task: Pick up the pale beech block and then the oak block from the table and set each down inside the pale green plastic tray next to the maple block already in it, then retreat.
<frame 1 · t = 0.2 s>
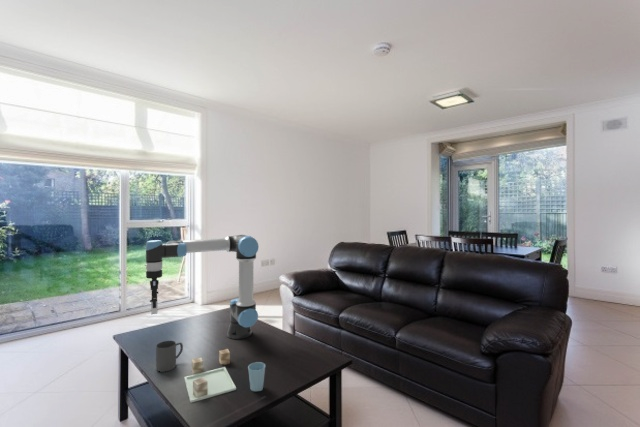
hand: (154, 310, 164), 28 cm above the table, fingers open, 13 cm apart
maple block: (200, 394, 135), point 1 cm above the table, touching tray
tray: (209, 385, 144), on the table
beech block: (197, 372, 155), on the table
oak block: (224, 362, 165), on the table
mug: (170, 366, 161), on the table
cup: (256, 389, 141), on the table
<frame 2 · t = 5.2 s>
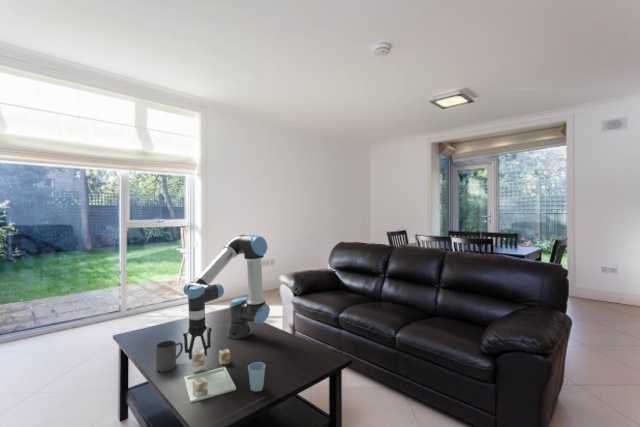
hand: (198, 363, 155), 4 cm above the table, fingers closed on beech block, 4 cm apart
beech block: (198, 364, 155), point 4 cm above the table, touching gripper
everything else where it was.
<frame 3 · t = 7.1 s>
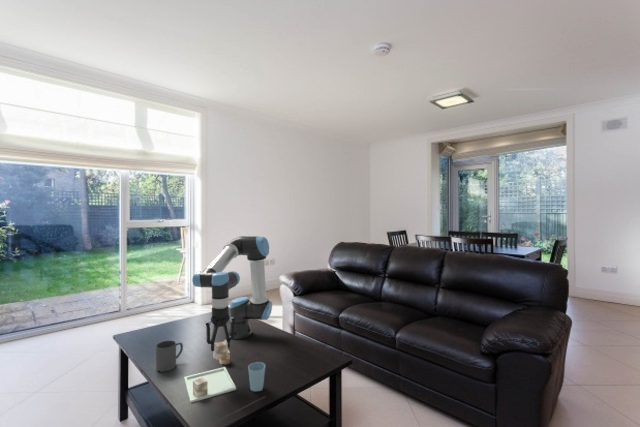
hand: (220, 356, 145), 13 cm above the table, fingers closed on beech block, 4 cm apart
beech block: (220, 356, 145), point 12 cm above the table, touching gripper
everything else where it was.
when the fingers open (2 cm above the table, at t = 9.0 s): beech block stays where it is, resting on tray.
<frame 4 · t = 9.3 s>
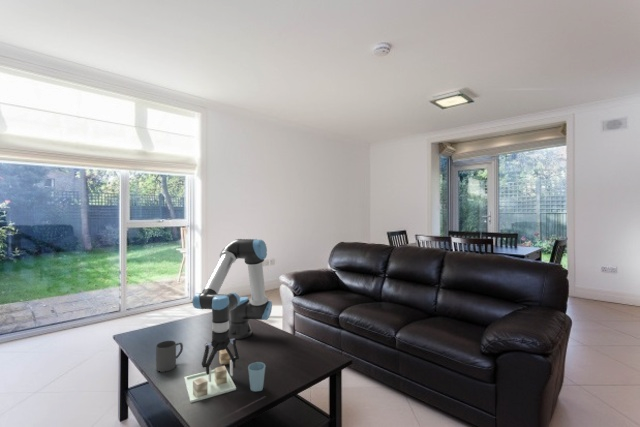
hand: (220, 377, 146), 3 cm above the table, fingers open, 9 cm apart
beech block: (220, 381, 146), point 1 cm above the table, touching tray
everything else where it was.
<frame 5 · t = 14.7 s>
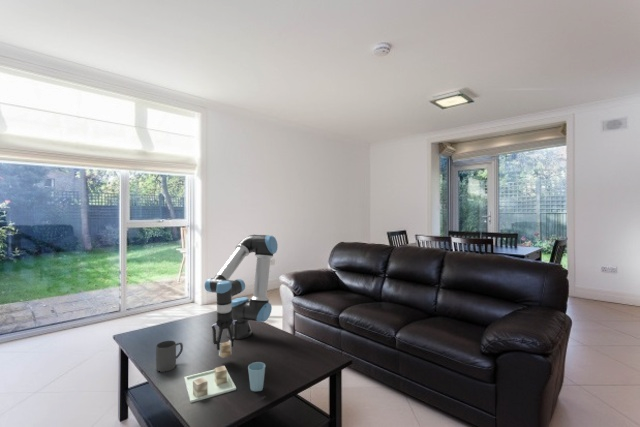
hand: (225, 354, 165), 4 cm above the table, fingers closed on oak block, 4 cm apart
oak block: (225, 355, 165), point 4 cm above the table, touching gripper
everything else where it was.
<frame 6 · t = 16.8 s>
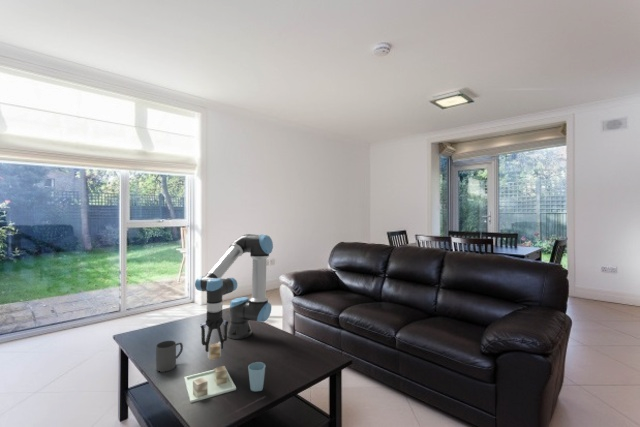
hand: (214, 356, 157), 7 cm above the table, fingers closed on oak block, 4 cm apart
oak block: (214, 357, 156), point 7 cm above the table, touching gripper
everything else where it was.
when the fingers open (2 cm above the table, at t = 18.8 s): oak block stays where it is, resting on tray.
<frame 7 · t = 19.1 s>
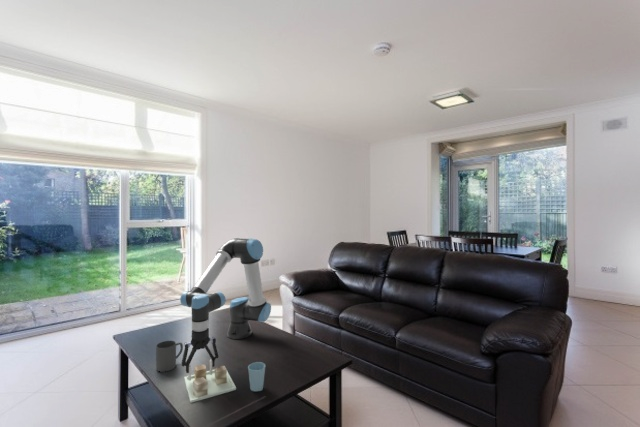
hand: (200, 376, 147), 2 cm above the table, fingers open, 9 cm apart
oak block: (200, 380, 147), point 1 cm above the table, touching tray
everything else where it was.
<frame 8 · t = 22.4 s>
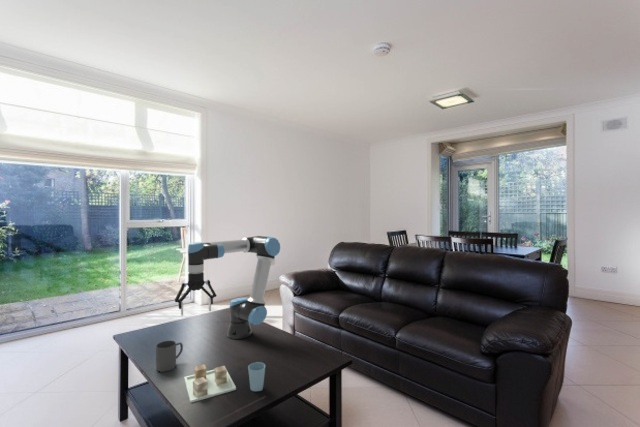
hand: (196, 312, 163), 27 cm above the table, fingers open, 13 cm apart
nothing on the table moved.
at the end: beech block inside the target area on the tray (5.0 cm from its centre), point 0.6 cm above the tray's base; oak block inside the target area on the tray (6.2 cm from its centre), point 0.6 cm above the tray's base; the gripper is holding nothing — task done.
